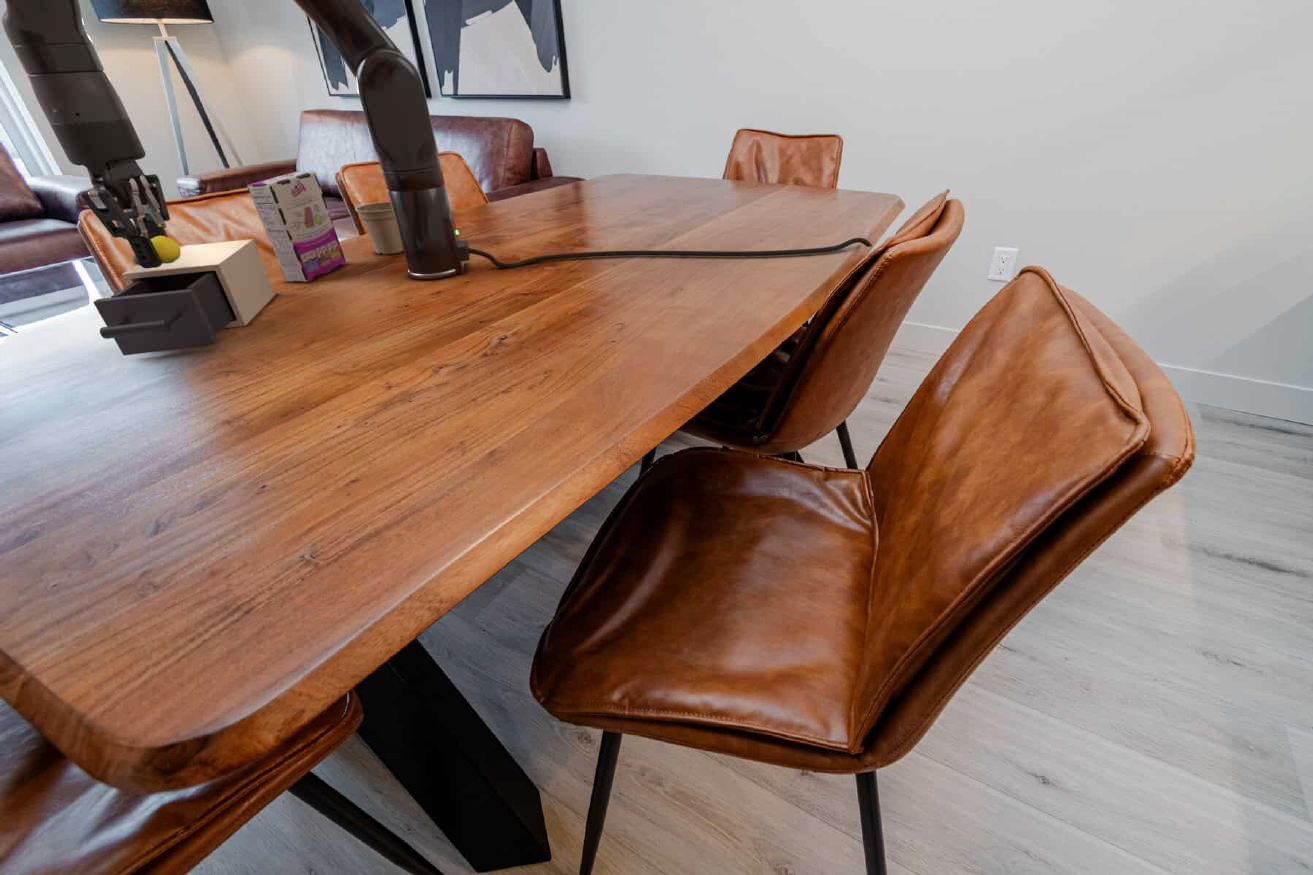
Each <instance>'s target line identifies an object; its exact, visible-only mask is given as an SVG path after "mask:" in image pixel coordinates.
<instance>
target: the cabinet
mask: <svg viewBox="0 0 1313 875" xmlns="http://www.w3.org/2000/svg"><path fill="white" fill-rule="evenodd" d="M178 246H179V247H180V251H181V256H180V257H179V259H177V260H176V261H174V262H172V263H169V264H163V263H162V265H161V266H159V267H156V268H143V267H142V266H140V265H137V264H136V265H135V266H133V267H132V268H130V269H128V270H126V271H125V272H123V273H121V276H122V278H123V280H124V281H125V283H126V286H129V285H131V284H132V283H134V282H136V281H137V280H139V279H141V278H146V277H156V276H166V275H175V274H185V273H195V272H205V271H214V270H216V273H217V275H218V278H219V280H220V282H221V284H222V287H223V289H224V291H225V293H226V296H227V298H228V300H229V302H230V305H231V307H232V309H233V311H234V314H235V317H234V318H233V319H232V320H231V321H230V322H229V323H228V324H227V325H226V326H225V327H224V328H223V329H229V328H237V327H238V328H239V327H246V326H247V325H248V324H249V323H250V322H251V321H252V320H253V319H254V318H255V317H256V316H257V314H259V313H260V312H261V311H262V309H263V308H264V307H265V306H266V305H268V303H269V302H270V301H271V300H272V299H273V298H274V297H275V296H276V292H275V289H274V286H273V283H272V281H271V279H270V277H269V274H268V271H267V269H266V266H265V264H264V262H263V259H262V257H261V254H260V251H259V249H258V247H257V244H256V242H255V239H254V238H251V239H239V240H238V239H237V240H230V241H219V242H209V243H198V244H197V243H196V244H189V245H187V244H186V245H178Z"/></svg>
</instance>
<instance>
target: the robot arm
mask: <svg viewBox="0 0 1313 875" xmlns="http://www.w3.org/2000/svg"><path fill="white" fill-rule="evenodd" d="M292 1H293V3H295V4H296V6H298V8H299V9H300V10H301V11H302V12H303V13H304V14H305V15H306V16H307V17H308V18H309V19H310V20H311V21H312V22H313V23H314V24H315V25H316V26H317V27H318V28H319V29H320V30H321V32H322V33H323V34H324V35H325V36H326V38H327V39H328V40H329V41H330V43H331V44H332V46H333V47H334V49H335V50H336V51H337V53H338V54H339V55H340V57H341V58H342V60H343V62H344V63H345V65H346V66H347V67H348V69H349V71H350V72H351V74H352V75H353V77H354V78H355V80H356V87H357V92H358V97H359V100H360V103H361V107H362V111H363V114H364V119H365V121H366V125H367V128H368V131H369V135H370V139H371V143H372V145H373V149H374V152H375V154H376V156H377V159H378V163H379V167H380V169H381V173H382V176H383V180H384V184H385V189H386V191H387V195H388V199H389V201H390V203H391V207H392V210H393V214H394V218H395V221H396V225H397V229H398V233H399V236H400V240H401V244H402V247H403V251H402V252H403V254H404V258H405V261H406V267H407V269H408V274H409V277H410V278H413V279H417V280H436V279H441V278H442V279H443V278H447V277H451V276H454V275H458V274H460V275H461V274H463V273H464V269H465V262H468V261H470V257H471V255H476V256H479V257H483V258H486V259H488V260H489V261H490V262H491V263H492V264H493V265H494V266H496V267H498V268H502V269H513V268H514V269H515V268H519V267H524V266H528V265H531V264H535V263H538V262H546V261H555V260H556V261H557V260H565V259H566V260H567V259H578V258H579V259H581V258H596V257H599V258H600V257H627V256H629V257H630V256H634V257H635V256H638V257H639V256H641V257H642V256H643V257H644V256H648V257H649V256H653V257H654V256H658V257H659V256H661V257H662V256H663V257H664V256H665V257H669V256H670V257H672V256H673V257H677V256H678V257H777V256H778V257H779V256H795V255H796V256H797V255H813V254H823V253H825V254H826V253H832V252H836V251H839V250H842V249H845V248H847V247H849V246H851V245H854V244H857V243H860V244H862V245H864V246H865V247H867V248H871V247H873V245H872V244H871V242H870V241H869V239H866V238H864V237H854V238H851V239H848V240H846V241H844V242H842V243H839V244H837V245H833V246H832V245H831V246H824V247H815V248H800V249H782V250H781V249H779V250H745V251H744V250H742V251H741V250H740V251H739V250H738V251H733V250H732V251H731V250H730V251H729V250H726V251H725V250H724V251H723V250H606V251H604V250H603V251H602V250H601V251H583V252H571V253H570V252H569V253H557V254H548V255H547V254H546V255H540V256H539V255H538V256H535V257H531V258H528V259H525V260H522V261H518V262H513V263H508V262H507V263H505V262H501V261H499V260H497V258H495V256H493V254H490V253H488V252H486V251H483V250H479V249H475V248H471V247H470V246H469V242H468V240H467V239H466V240H460V238H459V230H458V228H457V223H456V220H455V215H454V211H453V210H452V209H451V205H450V204H451V203H450V200H449V194H448V191H447V185H446V182H445V177H444V173H443V168H442V164H441V158H440V153H439V149H438V145H437V144H438V143H437V141H436V136H435V133H434V128H433V124H432V123H433V122H432V119H431V115H430V114H431V113H430V109H429V105H428V100H427V96H426V91H425V86H424V81H423V79H422V76H421V74H420V72H419V70H418V69H417V67H416V66H415V64H413V63H412V61H411V60H410V59H409V58H408V57H407V56H405V54H404V53H403V52H402V51H401V50H400V48H399V47H398V46H397V45H396V43H395V42H394V41H393V40H392V39H391V38H390V37H389V34H387V33H386V31H385V30H384V29H383V27H382V26H381V25H380V24H379V23H378V21H377V20H376V19H375V18H374V16H373V15H372V14H371V12H370V11H369V10H368V7H367V6H366V5H365V4H364V2H363V0H292ZM4 2H5V5H6V9H5V12H4V13H3V14H2V18H1V24H2V27H3V28H2V29H3V31H4V33H5V36H6V37H7V39H8V41H9V43H10V45H11V47H12V49H13V51H14V53H15V55H16V57H17V58H18V61H19V63H20V65H21V66H22V68H23V70H24V72H25V74H26V75H27V79H28V80H29V83H30V86H31V88H32V90H33V94H34V96H35V98H36V101H37V102H38V104H39V106H40V108H41V110H42V112H43V114H44V116H45V118H46V120H47V122H48V123H49V125H50V127H51V129H52V131H53V133H54V135H55V137H56V139H57V141H58V142H59V145H60V147H61V148H62V150H63V152H64V154H65V156H66V158H67V159H68V161H69V163H71V164H72V165H75V166H83V167H85V168H86V169H87V172H88V175H89V180H90V183H91V185H92V186H93V187H92V188H91V190H85V191H83V190H82V191H81V193H80V196H81V198H82V200H83V201H84V203H86V205H87V206H88V208H89V209H90V210H91V212H92V213H93V214H94V215H95V216H96V218H97V219H98V220H99V221H100V223H101V224H102V225H103V227H104V228H105V229H106V231H108V233H109V234H110V235H111V237H113V238H114V239H117V238H120V239H123V240H126V241H128V244H129V245H130V247H131V249H132V251H133V253H134V256H135V255H136V257H137V259H138V261H139V263H140V265H141V266H142V267H143V268H156V267H159V266H161V265H162V261H161V259H160V257H159V255H158V253H157V251H156V249H155V247H154V245H153V243H152V241H151V239H152V238H154V237H157V236H166V237H168V238H169V236H168V234H167V232H166V230H165V229H166V228H167V224H166V222H169V221H170V220H171V217H170V213H169V210H168V206H167V202H166V199H165V194H164V191H163V188H162V185H161V181H160V178H159V176H158V175H157V174H156V173H153V174H146V173H144V171H143V169H142V168H141V167H140V166H139V163H138V162H137V161H138V160H141V159H143V158H145V157H146V156H147V154H146V150H145V148H144V146H143V145H142V142H141V140H140V137H139V136H138V133H137V132H136V130H135V127H134V125H133V122H132V121H131V118H130V116H129V113H128V112H127V110H126V108H125V106H124V105H125V104H123V101H122V99H121V96H120V95H119V93H118V91H117V89H116V87H115V85H114V84H113V82H112V80H110V78H109V76H108V74H107V72H106V71H105V68H104V65H103V64H102V61H101V59H100V57H99V55H98V53H97V50H96V48H95V46H94V44H93V41H92V40H91V38H90V36H89V35H88V33H87V30H86V28H85V24H84V20H83V15H82V10H81V3H80V1H79V0H4ZM115 223H116V224H115Z"/></svg>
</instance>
